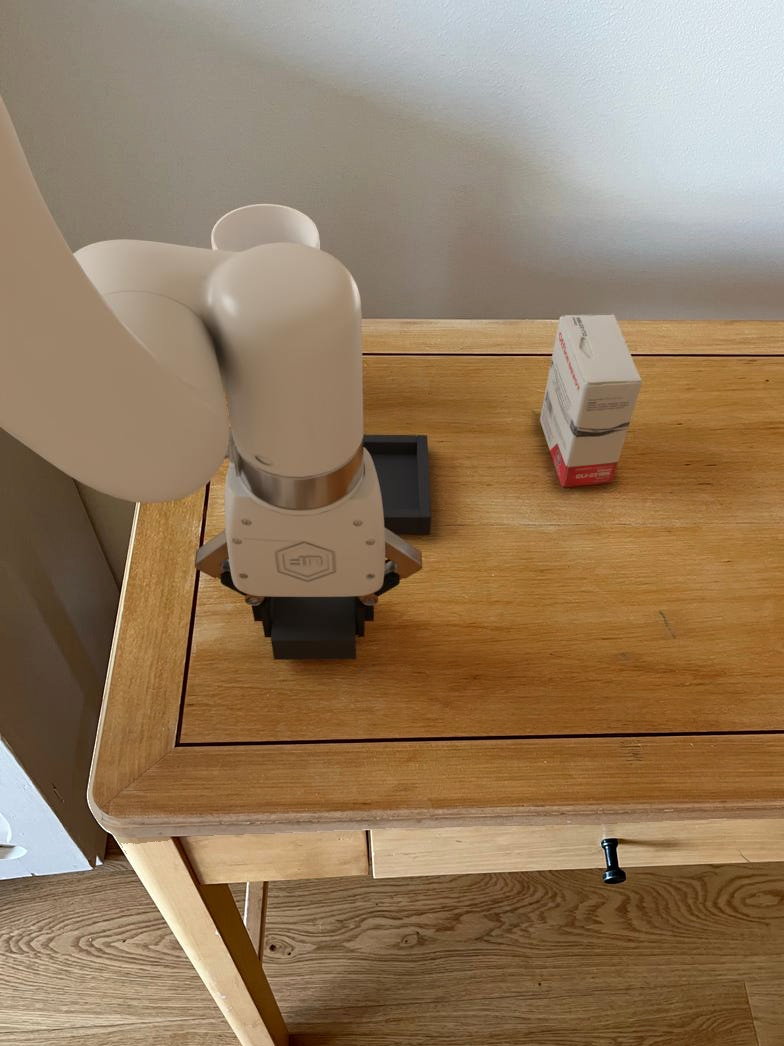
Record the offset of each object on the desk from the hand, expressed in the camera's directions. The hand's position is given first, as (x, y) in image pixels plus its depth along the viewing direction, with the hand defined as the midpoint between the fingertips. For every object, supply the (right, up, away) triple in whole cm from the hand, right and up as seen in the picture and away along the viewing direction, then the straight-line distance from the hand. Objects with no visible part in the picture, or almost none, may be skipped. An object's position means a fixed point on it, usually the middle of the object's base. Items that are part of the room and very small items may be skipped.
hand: (315, 620), depth 72 cm
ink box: (+21, +15, +14) cm, 30 cm away
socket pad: (+3, +11, +9) cm, 15 cm away
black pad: (0, 0, +1) cm, 1 cm away
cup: (-5, +21, +15) cm, 26 cm away
